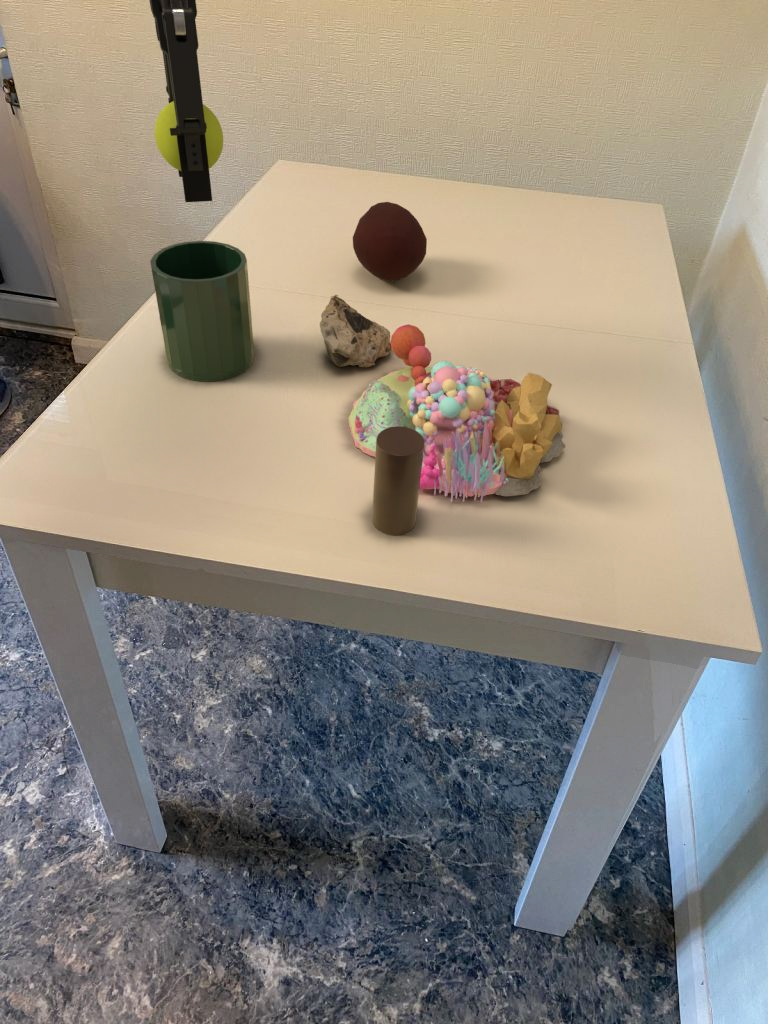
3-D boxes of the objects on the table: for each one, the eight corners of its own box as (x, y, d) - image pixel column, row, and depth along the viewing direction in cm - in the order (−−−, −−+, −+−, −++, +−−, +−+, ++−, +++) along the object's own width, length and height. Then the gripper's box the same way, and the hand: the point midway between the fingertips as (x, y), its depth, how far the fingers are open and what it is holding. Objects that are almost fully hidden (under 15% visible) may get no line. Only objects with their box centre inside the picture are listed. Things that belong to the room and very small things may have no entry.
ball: (162, 184, 74) (151, 110, 70) (158, 161, 79) (147, 91, 74) (230, 181, 76) (224, 109, 71) (222, 159, 81) (215, 90, 76)
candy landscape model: (569, 398, 91) (587, 331, 85) (555, 524, 74) (576, 453, 68) (375, 363, 95) (378, 296, 89) (319, 476, 78) (318, 404, 72)
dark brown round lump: (352, 296, 108) (354, 226, 101) (350, 257, 118) (352, 191, 111) (427, 298, 109) (434, 228, 102) (419, 259, 118) (425, 193, 111)
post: (378, 538, 72) (384, 458, 65) (366, 508, 75) (370, 429, 68) (421, 531, 73) (431, 451, 66) (407, 502, 76) (415, 423, 69)
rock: (351, 317, 100) (307, 293, 92) (397, 308, 97) (355, 282, 88) (349, 380, 100) (305, 362, 91) (396, 374, 96) (353, 354, 87)
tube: (171, 386, 89) (153, 285, 80) (164, 341, 96) (147, 244, 87) (260, 376, 91) (253, 277, 83) (246, 332, 99) (239, 237, 90)
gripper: (220, -75, 57) (243, 221, 73) (194, -99, 71) (219, 155, 86) (119, -78, 55) (165, 226, 71) (112, -102, 69) (153, 158, 85)
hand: (195, 187), depth 79 cm, fingers closed on ball, 7 cm apart
